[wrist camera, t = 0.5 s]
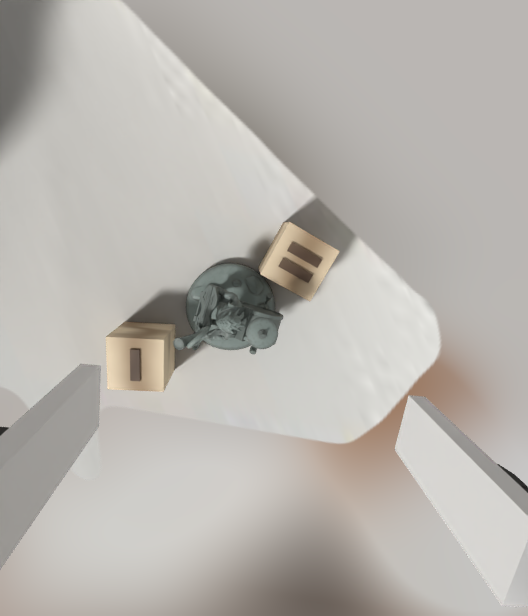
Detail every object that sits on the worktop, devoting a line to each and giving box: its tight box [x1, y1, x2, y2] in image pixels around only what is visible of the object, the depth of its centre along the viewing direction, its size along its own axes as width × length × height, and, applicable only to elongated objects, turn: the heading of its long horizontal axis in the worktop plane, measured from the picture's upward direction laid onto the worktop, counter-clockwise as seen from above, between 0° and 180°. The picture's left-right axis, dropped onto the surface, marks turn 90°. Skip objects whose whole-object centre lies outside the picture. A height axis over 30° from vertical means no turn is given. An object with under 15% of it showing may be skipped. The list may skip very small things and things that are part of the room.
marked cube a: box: [106, 322, 175, 392], centre depth 40 cm, size 6×6×6 cm
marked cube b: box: [258, 222, 340, 301], centre depth 38 cm, size 6×6×6 cm
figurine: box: [173, 263, 283, 354], centre depth 36 cm, size 11×11×12 cm
